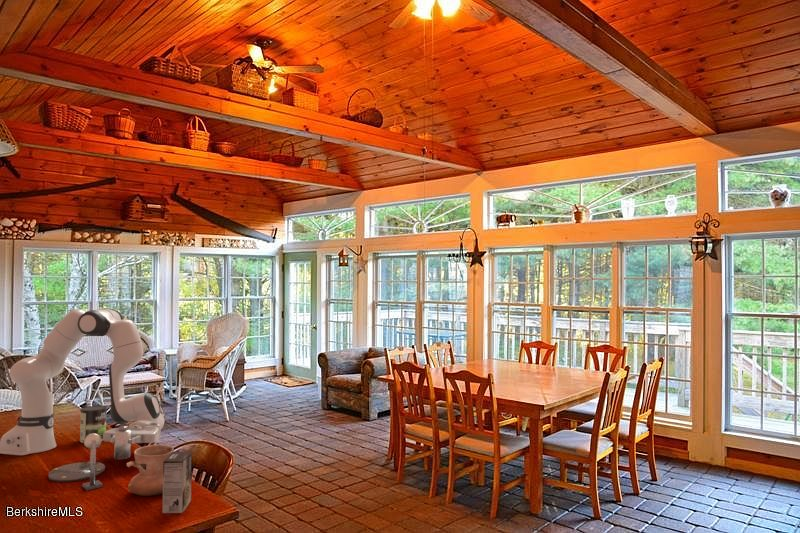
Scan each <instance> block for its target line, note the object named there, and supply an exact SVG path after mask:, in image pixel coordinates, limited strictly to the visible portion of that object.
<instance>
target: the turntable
mask: <svg viewBox="0 0 800 533" xmlns="http://www.w3.org/2000/svg"><path fill="white" fill-rule="evenodd" d="M105 470H106V465H105V464H104V463H102V462H97V461H96V465H95V477H97V476H99V475H101V474H103V473H104V472H105ZM48 479H49V480H50V481H52V482H57V483H59V482H60V483H67V482H68V483H69V482H70V483H71V482H78V481H85V480H88V479H89V480H90V461H81V462H74V463H69V464H64V465H61V466H57V467H56V468H53V469H51V470H50V471H49V472H48Z"/></svg>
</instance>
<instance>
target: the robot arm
mask: <svg viewBox="0 0 800 533" xmlns="http://www.w3.org/2000/svg"><path fill="white" fill-rule="evenodd" d="M84 336H89V337H105V336H106V337H107V338H109V339H110V342H111V346H112V349H113V359H112V362H111V364H109V367H108V375H109V377H108V378H109V379H108V380H109V391H110V408H109V410H110V412H109V413H110V418H111V420H112V421H113V422H114V423H116V424H118V425H120V426H125V425H126V424H129V423H130V424H129V425H127V426H128V429H131V438H130V439H129V444H131V445H132V444H133V445H134V444H143V443H144V444H145V443H147V444H153V443H154V444H155V443H157V442H158V441H160V440H161V435H162V434H161V432H162V431H161V430H162V429H163V427H164V425H165V416H164V415H163V414H162V413H161V404H160V401H159V398H158V397H157V396H156V395H154V394H153V393H151V392H145V393H141V394H137V395H134V396H131V397H128V398H126V397H125V390H124V389H125V387H124V386H125V385H124V378H125V376H126V374H127V373H128V372H129V371H130V370H131V369H133V368H134V367H135V366H136V365H138V364H139V362H140V361H141V360H143V357H144V346H143V342H142V338H141V336H140V333H139V330H138V328H137V326H136V324H135V322H134V321H133V320H131V319H125V317H124V316H123V314H122V313H121V312H120V311H118V310H117V309H111V308H99V309H91V310H90V309H89V310H87V311H86V310H84V309H81V308H74V309H71V310H70V311H69V312H68V313H67V314H66V315H64V316H63V317H62V319H60V320H59V321H58V323H57V324H56V325H55V326H54V327H53V329H51V331H50V332H49V333H48V335H47V336H46V337H45V338H44V340H43V346H42V349H41V351H40V352H38V353H37V354H36V355H33V356H29V357H25V358H22V359H20V360H18V361H17V362H15V363H14V364H13V365H12V366H11V368H10V371H9V372H10V373H9V375H10V378H11V380H12V382H14V383H15V384H16V385H17V387H18V390H19V392H20V398H21V416H18V417H16V418H15V419H14V422H17V423H16V425H14V427H12V428H11V429H9V430H8V431H7V432H6V433H4V434H3V435H2V436H1V438H0V454H3V455H11V456H13V455H14V456H26V455H29V454H37V453H42V452H46V451H49V450H52V449H54V448H56V447H57V443H56V439H55V434H54V424H55V423H54V422H55V413H54V411H53V410H54V408H53V407H54V394H53V393H52V392H51V391H50V390H49V388H48V383H47V380H50V379H53V378H55V377H57V376H58V375H60V374H61V373H62V372H63V371H64V369H65V367H66V366H65V362H66V360H67V358H68V356H69V355H70V353H71V352H72V351H73V350H74V348H75V347H76V346H77V344H78V343H79V342H80V341H81V340H82V338H83V337H84ZM116 430H119V427H115V428H111V429H106V431H105V432H104V433H103V442H110V443H111V444H115V431H116Z"/></svg>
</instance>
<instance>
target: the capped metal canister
mask: <svg viewBox="0 0 800 533" xmlns="http://www.w3.org/2000/svg"><path fill="white" fill-rule="evenodd" d="M128 426H129V425H120V426H118V428H119V430H116V431H115V443H114V449H113V450H114V452H113V458H114V460H127V459H128V458H130V457H131V446H132V444H129V439H130V438H131V429H128Z"/></svg>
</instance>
